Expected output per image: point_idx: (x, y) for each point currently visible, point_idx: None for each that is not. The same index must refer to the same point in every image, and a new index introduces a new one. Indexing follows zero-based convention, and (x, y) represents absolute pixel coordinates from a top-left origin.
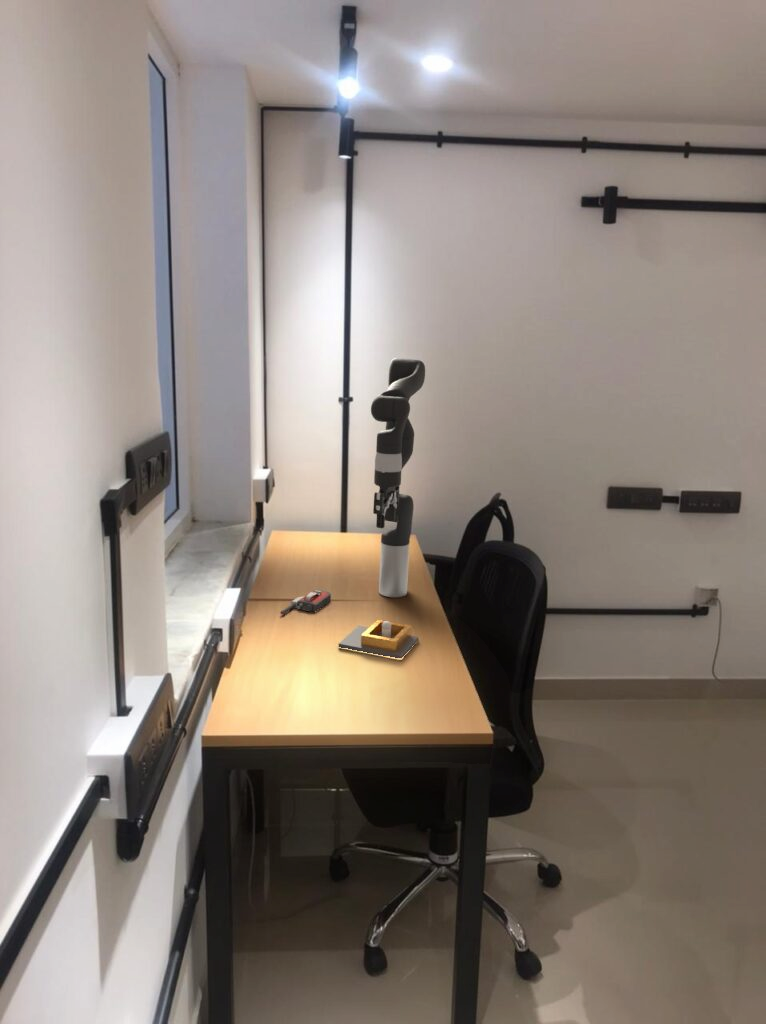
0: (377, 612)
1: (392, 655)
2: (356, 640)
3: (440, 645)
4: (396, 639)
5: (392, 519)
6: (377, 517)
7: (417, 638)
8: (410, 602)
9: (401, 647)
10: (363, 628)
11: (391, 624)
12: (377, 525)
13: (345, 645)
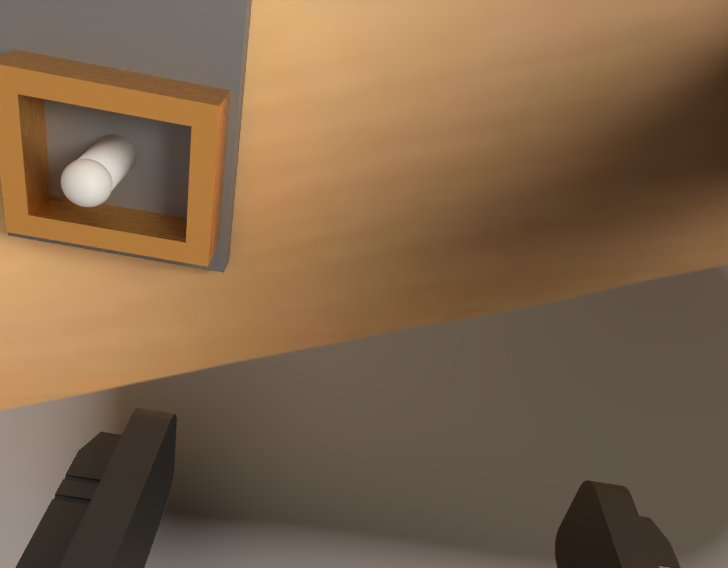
0: (534, 28)
1: None
2: (57, 14)
3: (228, 336)
4: (28, 228)
5: (566, 551)
6: (24, 558)
7: (212, 268)
8: (703, 174)
9: None
10: (219, 16)
11: (189, 181)
12: (90, 447)
13: None
